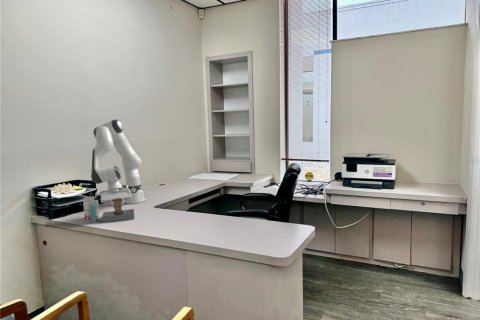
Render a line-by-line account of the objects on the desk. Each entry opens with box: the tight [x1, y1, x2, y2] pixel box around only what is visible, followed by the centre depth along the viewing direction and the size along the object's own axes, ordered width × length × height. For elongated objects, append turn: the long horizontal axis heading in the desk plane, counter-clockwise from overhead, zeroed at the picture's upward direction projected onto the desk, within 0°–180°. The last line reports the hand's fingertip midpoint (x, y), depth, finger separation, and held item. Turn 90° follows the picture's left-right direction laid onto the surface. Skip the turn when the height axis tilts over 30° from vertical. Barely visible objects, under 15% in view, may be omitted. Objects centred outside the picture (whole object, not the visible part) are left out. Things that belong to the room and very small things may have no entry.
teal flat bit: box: [90, 203, 98, 224], centre depth 218 cm, size 7×2×12 cm, turn 18°
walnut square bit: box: [113, 198, 123, 214], centre depth 224 cm, size 4×4×12 cm
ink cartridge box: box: [83, 195, 100, 220], centre depth 228 cm, size 9×5×15 cm, turn 149°
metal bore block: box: [101, 208, 135, 223], centre depth 224 cm, size 12×20×4 cm, turn 108°
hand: (118, 206), depth 223 cm, fingers closed on walnut square bit, 4 cm apart
